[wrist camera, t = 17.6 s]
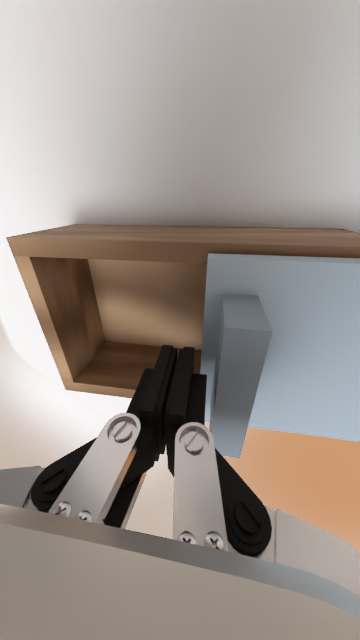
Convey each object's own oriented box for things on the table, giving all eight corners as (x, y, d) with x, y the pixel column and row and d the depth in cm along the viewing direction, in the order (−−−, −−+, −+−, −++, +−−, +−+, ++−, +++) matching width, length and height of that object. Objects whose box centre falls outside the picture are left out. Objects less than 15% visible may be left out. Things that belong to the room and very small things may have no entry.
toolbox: (74, 224, 17) (6, 237, 12) (577, 233, 13) (852, 260, 7) (101, 343, 23) (65, 389, 18) (451, 376, 19) (548, 451, 13)
